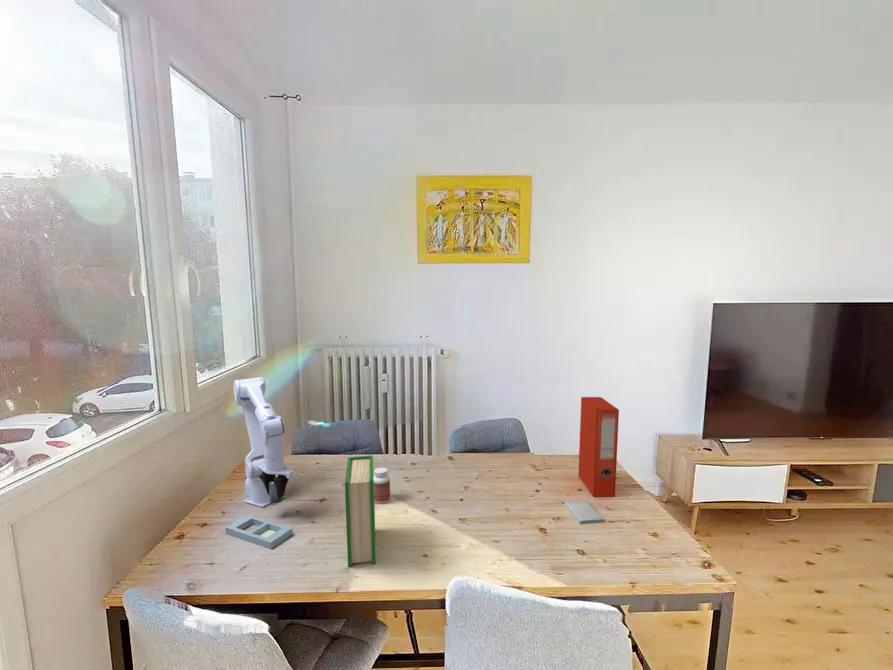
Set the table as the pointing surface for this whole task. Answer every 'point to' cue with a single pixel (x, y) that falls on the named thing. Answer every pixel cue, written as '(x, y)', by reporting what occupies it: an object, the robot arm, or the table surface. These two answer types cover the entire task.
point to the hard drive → (583, 512)
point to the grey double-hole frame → (259, 531)
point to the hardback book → (360, 510)
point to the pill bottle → (381, 486)
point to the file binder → (598, 446)
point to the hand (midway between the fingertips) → (276, 494)
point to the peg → (273, 493)
